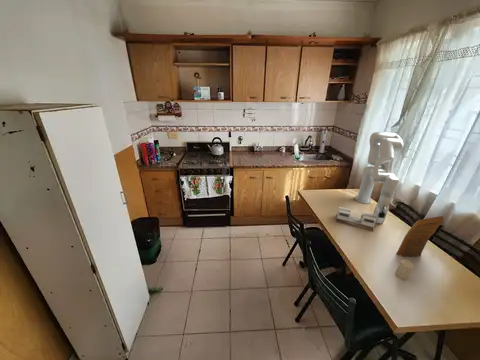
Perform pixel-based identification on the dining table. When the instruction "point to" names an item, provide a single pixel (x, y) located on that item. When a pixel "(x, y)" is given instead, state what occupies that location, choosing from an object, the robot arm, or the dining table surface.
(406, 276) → the candle
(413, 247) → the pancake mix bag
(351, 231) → the dining table surface
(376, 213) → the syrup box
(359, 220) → the rail board
